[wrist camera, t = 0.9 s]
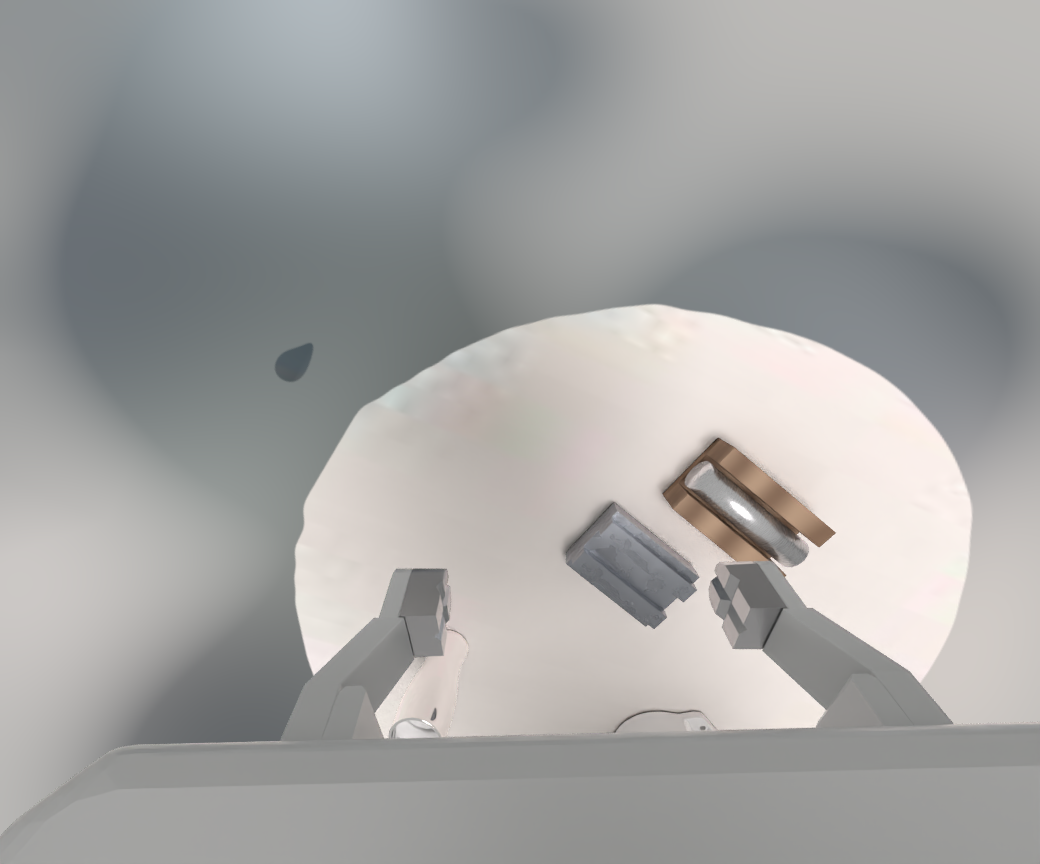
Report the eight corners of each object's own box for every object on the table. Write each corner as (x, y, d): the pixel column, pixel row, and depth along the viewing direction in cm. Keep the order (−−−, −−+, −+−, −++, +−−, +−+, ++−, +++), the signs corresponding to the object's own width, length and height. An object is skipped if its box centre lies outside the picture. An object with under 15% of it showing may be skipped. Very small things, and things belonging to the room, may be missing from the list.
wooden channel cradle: (809, 515, 52) (836, 532, 47) (751, 566, 54) (770, 589, 49) (718, 437, 51) (735, 447, 46) (662, 493, 53) (673, 509, 48)
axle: (796, 534, 51) (815, 550, 48) (772, 555, 52) (789, 572, 49) (703, 457, 50) (715, 467, 47) (680, 480, 51) (690, 491, 47)
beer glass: (420, 632, 61) (377, 722, 47) (462, 622, 60) (432, 712, 46) (436, 669, 63) (399, 769, 48) (477, 661, 61) (452, 760, 47)
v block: (691, 564, 55) (703, 584, 50) (641, 612, 57) (648, 634, 53) (614, 502, 54) (619, 516, 49) (565, 552, 56) (566, 570, 52)
